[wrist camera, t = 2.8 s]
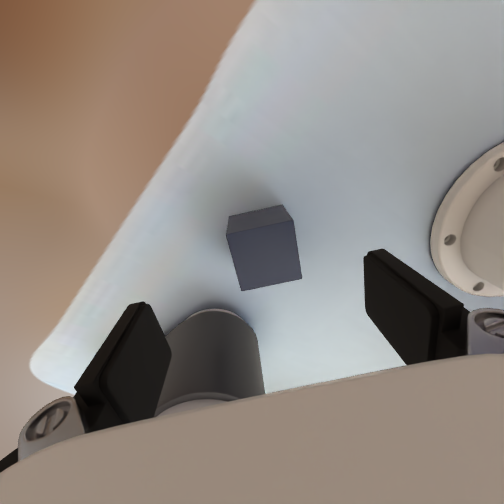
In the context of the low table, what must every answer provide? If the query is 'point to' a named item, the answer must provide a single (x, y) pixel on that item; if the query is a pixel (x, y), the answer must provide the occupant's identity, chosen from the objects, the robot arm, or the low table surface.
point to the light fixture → (210, 362)
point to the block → (263, 247)
